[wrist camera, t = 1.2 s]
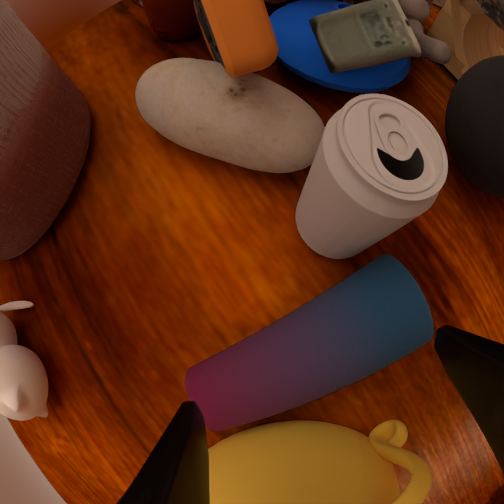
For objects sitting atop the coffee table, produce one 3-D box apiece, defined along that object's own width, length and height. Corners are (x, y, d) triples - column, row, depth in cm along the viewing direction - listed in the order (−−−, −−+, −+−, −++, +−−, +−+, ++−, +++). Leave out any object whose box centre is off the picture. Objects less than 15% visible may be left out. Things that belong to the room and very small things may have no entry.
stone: (296, 84, 26) (152, 111, 27) (297, 27, 19) (128, 60, 20) (331, 178, 22) (149, 211, 23) (348, 117, 16) (107, 162, 16)
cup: (235, 411, 21) (401, 328, 21) (223, 462, 15) (444, 355, 14) (193, 343, 22) (368, 252, 21) (163, 379, 15) (408, 254, 14)
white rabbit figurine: (-63, 320, 13) (-11, 434, 11) (6, 259, 20) (68, 363, 18) (-23, 349, 20) (29, 437, 18) (34, 300, 27) (91, 381, 24)
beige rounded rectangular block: (303, 21, 15) (409, 0, 11) (304, 8, 18) (391, -10, 14) (332, 83, 19) (426, 66, 16) (329, 60, 22) (409, 45, 18)
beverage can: (302, 267, 22) (353, 217, 10) (287, 188, 23) (311, 84, 11) (377, 254, 22) (472, 203, 10) (359, 180, 23) (424, 91, 11)
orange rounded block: (220, -7, 21) (189, 2, 22) (245, -62, 8) (181, -47, 8) (242, 57, 27) (213, 66, 27) (289, 66, 13) (228, 82, 14)
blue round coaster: (414, 56, 25) (433, 19, 18) (378, 134, 24) (405, 88, 17) (302, 6, 27) (305, -34, 20) (235, 67, 26) (227, 16, 19)
